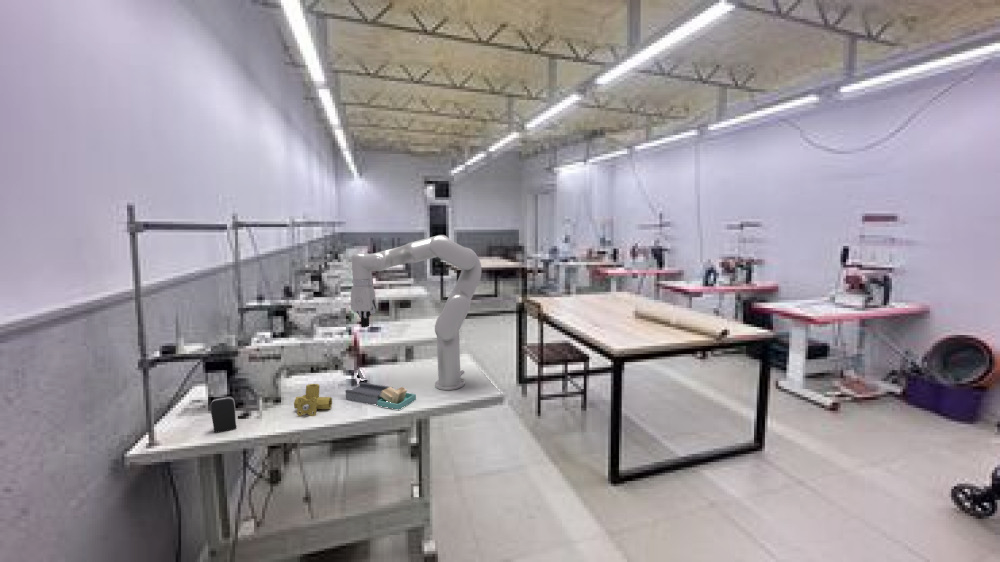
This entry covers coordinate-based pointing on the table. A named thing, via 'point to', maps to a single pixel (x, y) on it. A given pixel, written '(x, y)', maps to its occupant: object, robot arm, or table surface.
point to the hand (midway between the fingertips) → (365, 326)
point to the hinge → (360, 374)
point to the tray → (407, 400)
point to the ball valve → (311, 401)
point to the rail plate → (365, 393)
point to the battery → (223, 414)
